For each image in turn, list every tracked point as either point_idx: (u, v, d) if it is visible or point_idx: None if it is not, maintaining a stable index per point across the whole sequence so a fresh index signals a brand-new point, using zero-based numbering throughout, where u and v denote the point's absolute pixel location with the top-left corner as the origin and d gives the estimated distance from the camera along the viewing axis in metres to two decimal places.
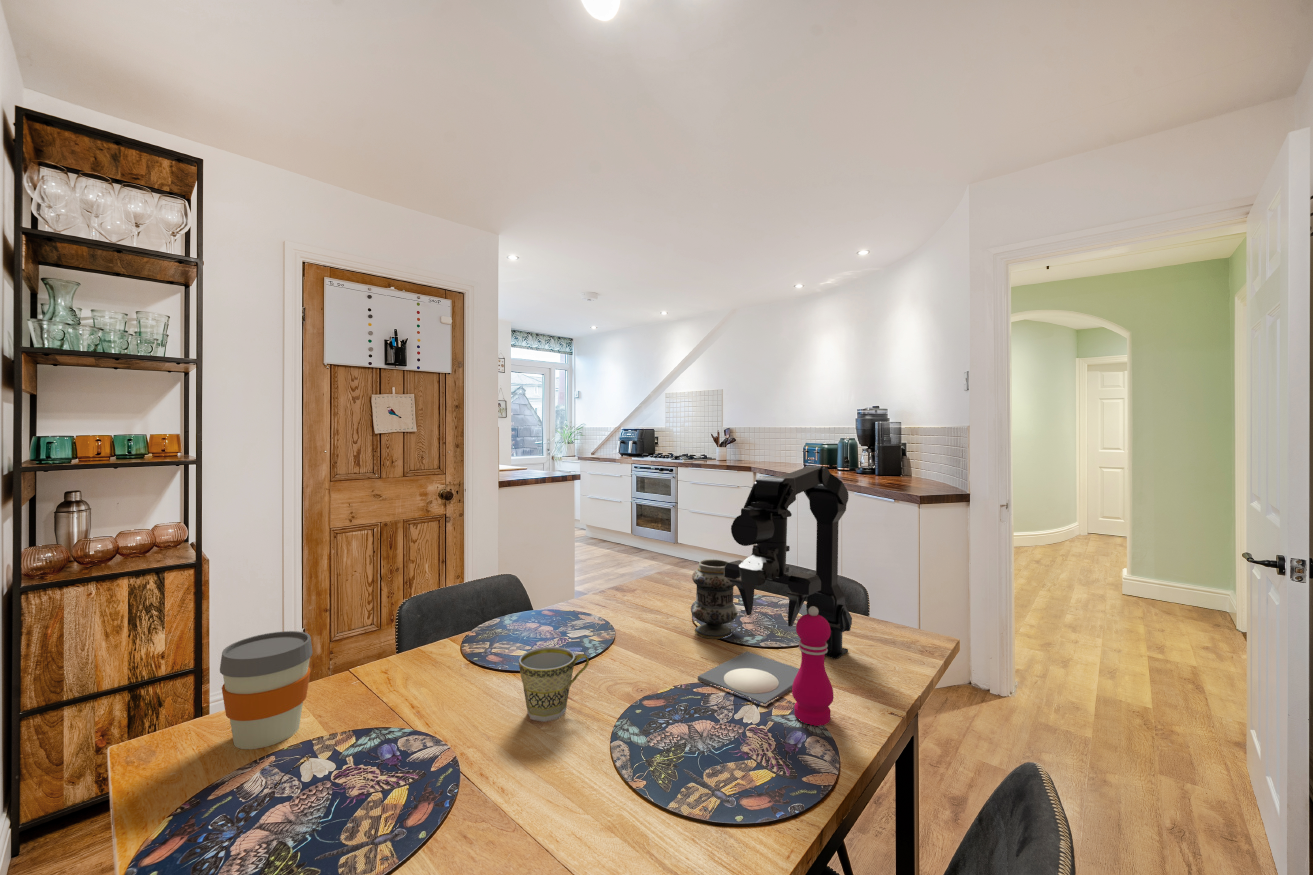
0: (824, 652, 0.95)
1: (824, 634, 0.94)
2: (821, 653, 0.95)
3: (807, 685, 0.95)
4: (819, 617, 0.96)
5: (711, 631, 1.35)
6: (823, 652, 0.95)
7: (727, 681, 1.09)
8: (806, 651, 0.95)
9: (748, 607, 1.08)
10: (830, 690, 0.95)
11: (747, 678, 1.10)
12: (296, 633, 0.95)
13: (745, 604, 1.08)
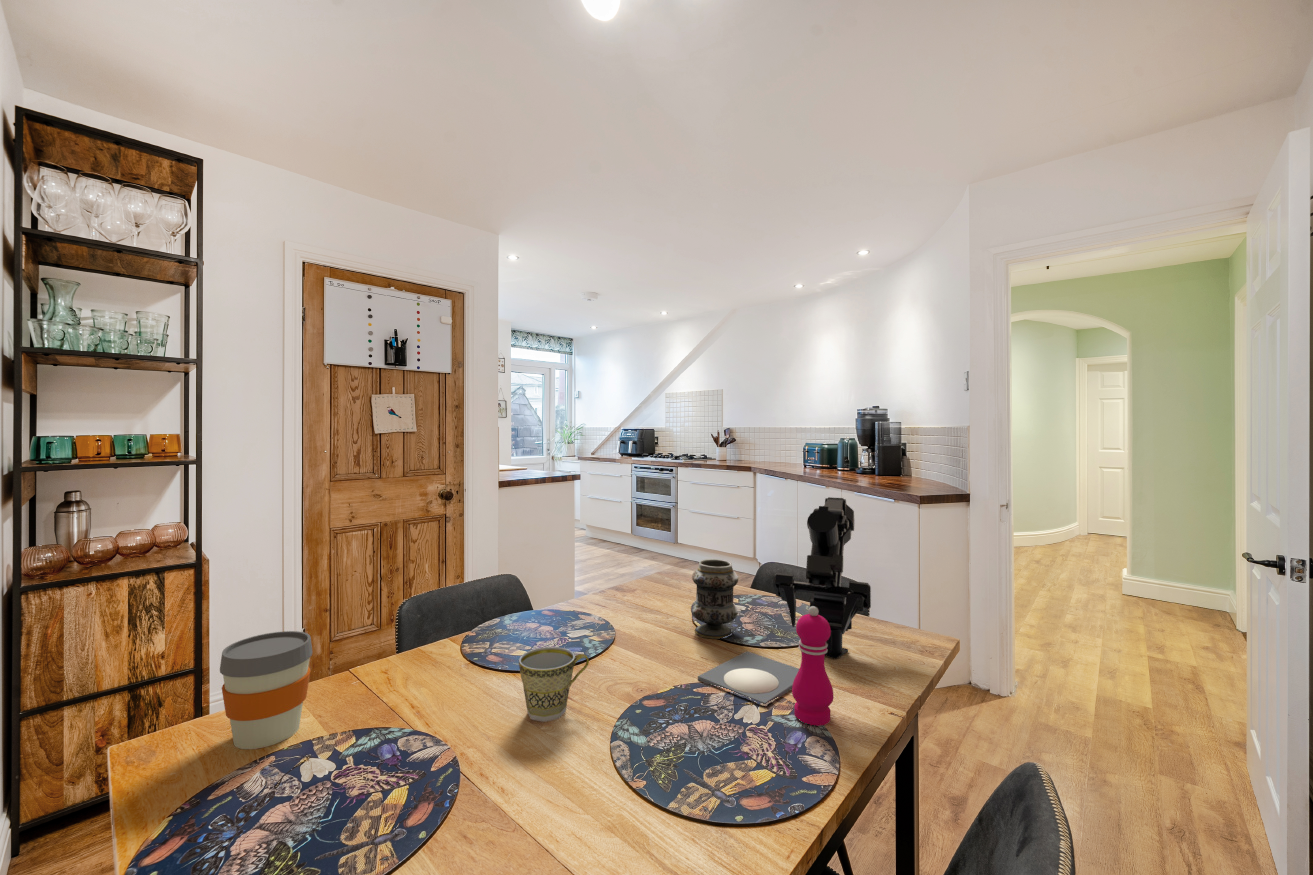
0: (824, 652, 0.95)
1: (824, 634, 0.94)
2: (821, 653, 0.95)
3: (807, 685, 0.95)
4: (819, 617, 0.96)
5: (711, 631, 1.35)
6: (823, 652, 0.95)
7: (727, 681, 1.09)
8: (806, 651, 0.95)
9: (794, 617, 1.07)
10: (830, 690, 0.95)
11: (747, 678, 1.10)
12: (296, 633, 0.95)
13: (792, 613, 1.07)
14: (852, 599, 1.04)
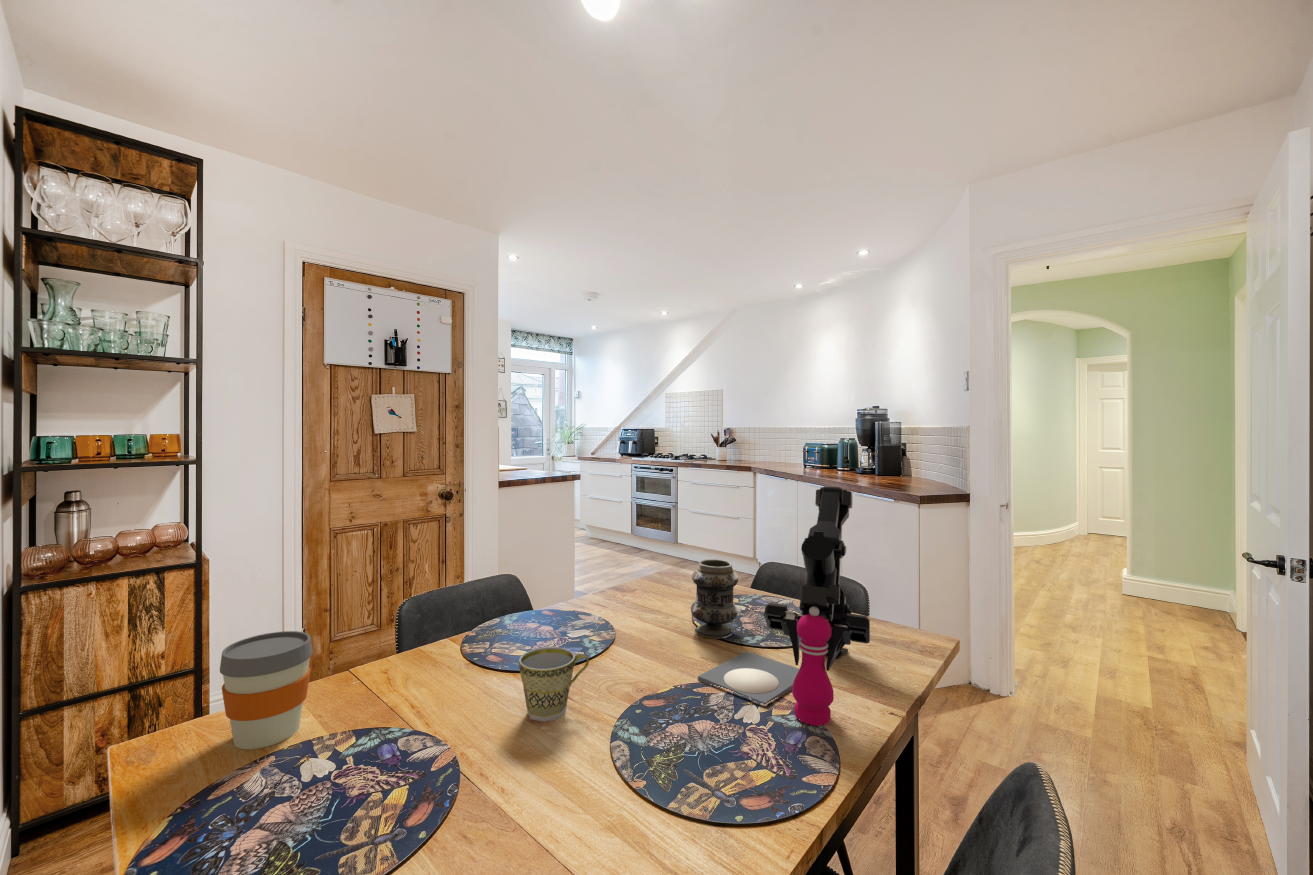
0: (825, 652, 0.95)
1: (825, 634, 0.94)
2: (822, 653, 0.95)
3: (807, 685, 0.95)
4: (820, 617, 0.96)
5: (711, 631, 1.35)
6: (824, 652, 0.95)
7: (727, 681, 1.09)
8: (807, 651, 0.95)
9: (798, 654, 0.98)
10: (830, 690, 0.95)
11: (747, 678, 1.10)
12: (296, 633, 0.95)
13: (795, 650, 0.98)
14: (838, 632, 0.97)
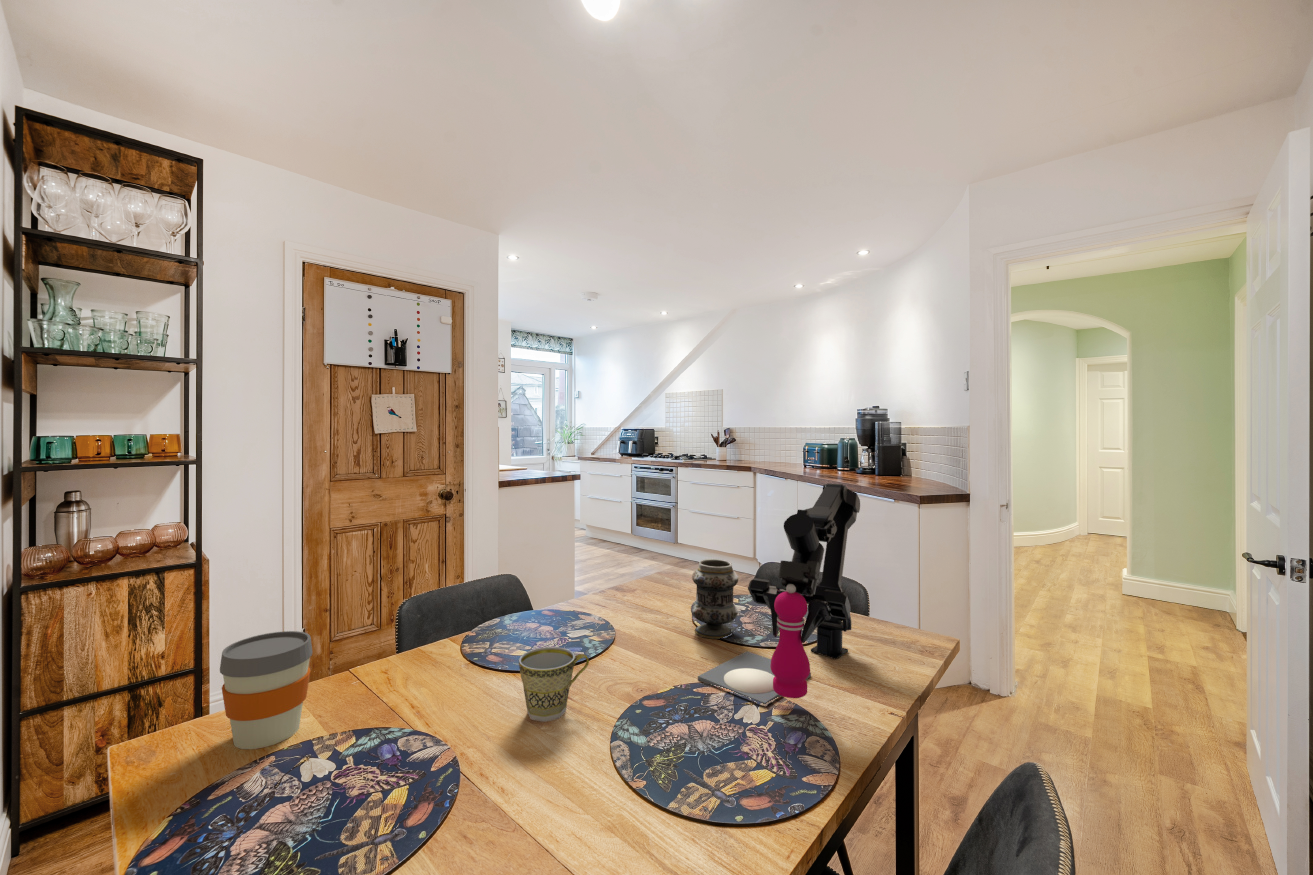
0: (799, 628, 0.98)
1: (799, 611, 0.97)
2: (796, 629, 0.98)
3: (782, 659, 0.98)
4: (796, 594, 0.99)
5: (711, 631, 1.35)
6: (798, 628, 0.98)
7: (727, 681, 1.09)
8: (782, 626, 0.99)
9: (776, 626, 1.01)
10: (805, 665, 0.98)
11: (747, 678, 1.10)
12: (296, 633, 0.95)
13: (774, 622, 1.02)
14: (815, 607, 0.99)
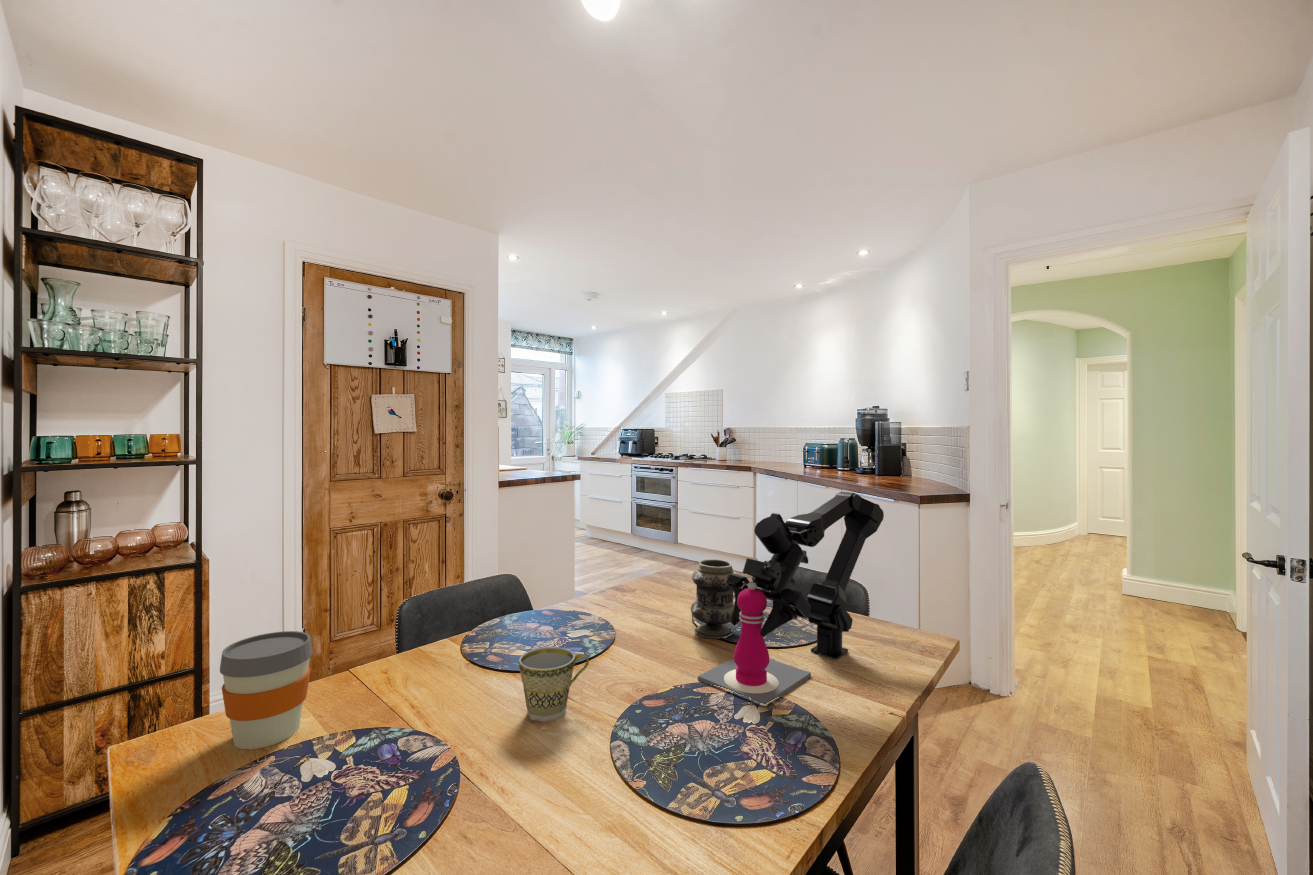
0: (755, 622, 1.07)
1: (753, 605, 1.07)
2: (752, 622, 1.07)
3: (739, 648, 1.09)
4: (755, 591, 1.09)
5: (711, 631, 1.35)
6: (754, 622, 1.07)
7: (727, 681, 1.09)
8: (741, 619, 1.09)
9: (736, 616, 1.12)
10: (760, 656, 1.07)
11: None
12: (296, 633, 0.95)
13: (734, 612, 1.13)
14: (777, 604, 1.06)
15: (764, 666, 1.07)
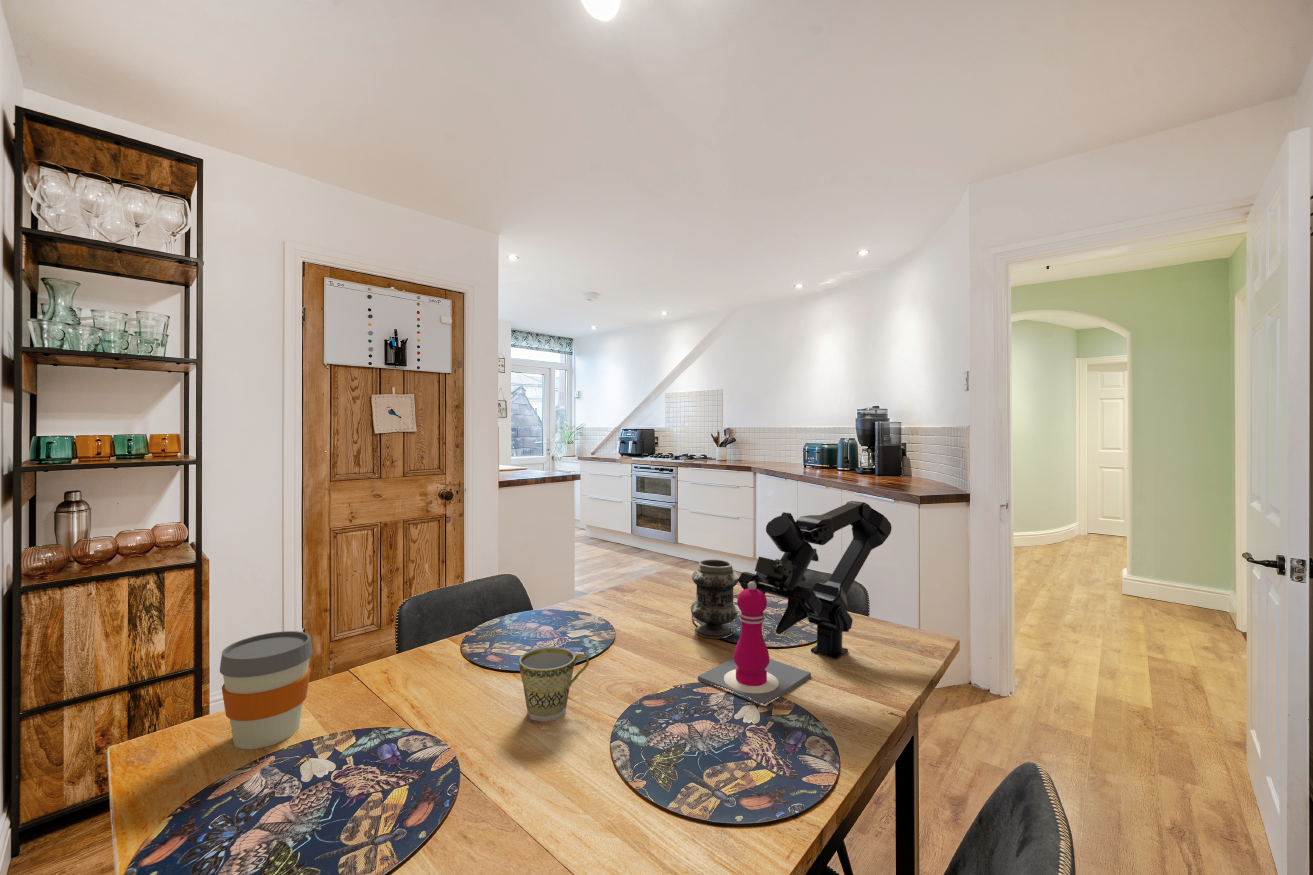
0: (755, 622, 1.07)
1: (753, 605, 1.07)
2: (752, 622, 1.07)
3: (739, 648, 1.08)
4: (755, 591, 1.09)
5: (711, 631, 1.35)
6: (754, 622, 1.07)
7: (727, 681, 1.09)
8: (741, 619, 1.09)
9: None
10: (760, 657, 1.07)
11: None
12: (296, 633, 0.95)
13: None
14: (792, 603, 1.08)
15: (764, 666, 1.07)
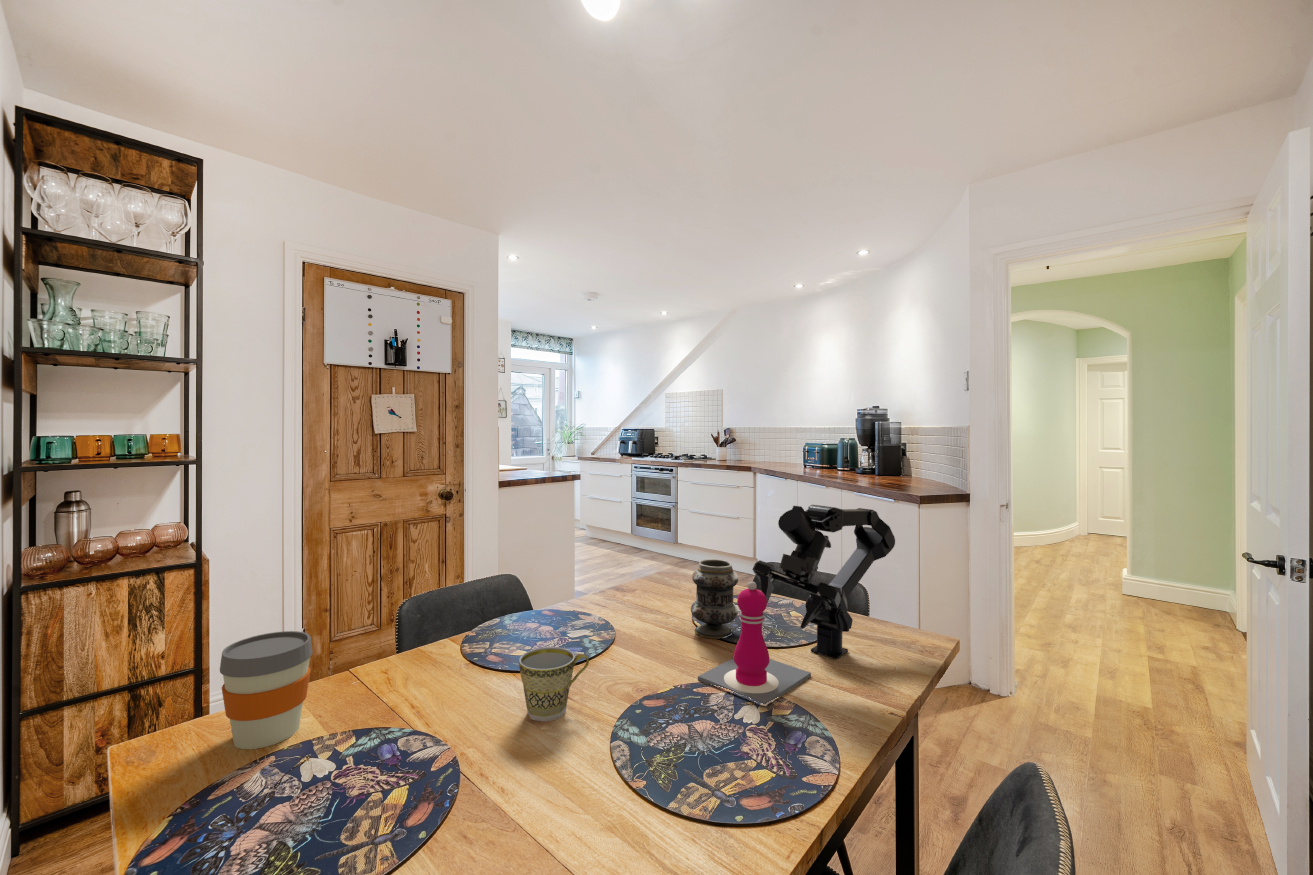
0: (755, 622, 1.07)
1: (753, 606, 1.07)
2: (752, 622, 1.07)
3: (739, 648, 1.08)
4: (755, 591, 1.09)
5: (711, 631, 1.35)
6: (754, 622, 1.07)
7: (727, 681, 1.09)
8: (741, 619, 1.09)
9: None
10: (760, 657, 1.07)
11: None
12: (296, 633, 0.95)
13: None
14: (817, 600, 1.12)
15: (764, 666, 1.07)
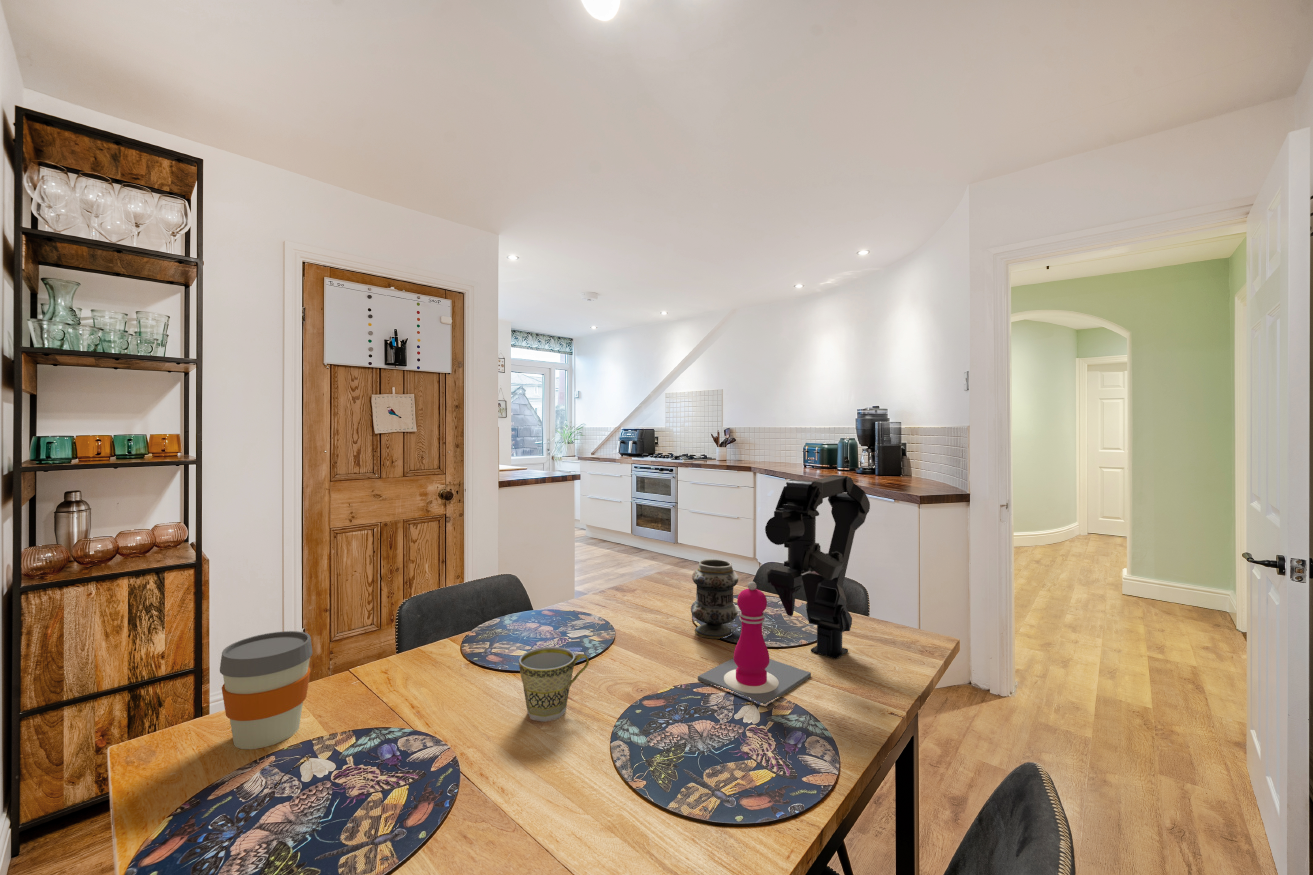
0: (755, 622, 1.07)
1: (753, 606, 1.07)
2: (752, 622, 1.07)
3: (739, 648, 1.08)
4: (755, 591, 1.09)
5: (711, 631, 1.35)
6: (754, 622, 1.07)
7: (727, 681, 1.09)
8: (741, 619, 1.09)
9: None
10: (760, 657, 1.07)
11: None
12: (296, 633, 0.95)
13: (793, 606, 1.12)
14: (824, 579, 1.19)
15: (764, 666, 1.07)
